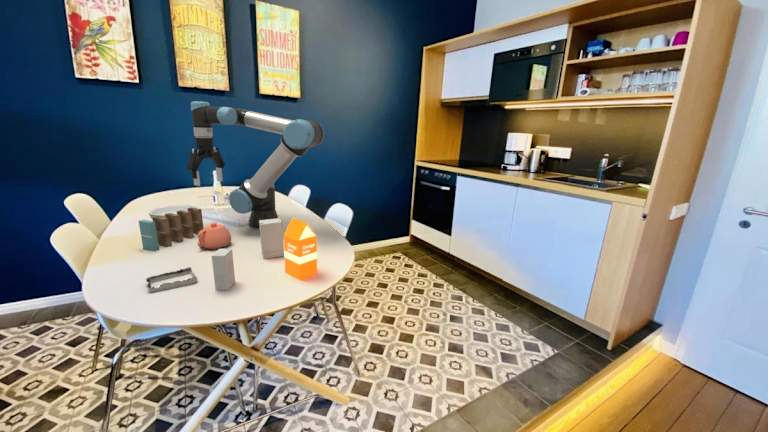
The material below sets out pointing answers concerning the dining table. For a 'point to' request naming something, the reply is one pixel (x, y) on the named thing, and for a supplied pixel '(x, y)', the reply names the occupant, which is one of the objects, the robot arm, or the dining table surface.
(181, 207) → the serving bowl
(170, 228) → the domino
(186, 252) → the dining table surface
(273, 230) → the skincare box
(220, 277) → the skincare box
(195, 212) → the domino
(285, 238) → the orange juice
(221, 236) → the sugar bowl
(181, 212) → the domino
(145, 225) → the domino
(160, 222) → the domino
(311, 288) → the dining table surface
